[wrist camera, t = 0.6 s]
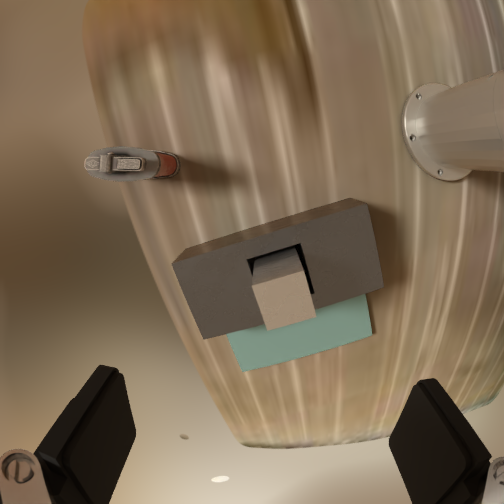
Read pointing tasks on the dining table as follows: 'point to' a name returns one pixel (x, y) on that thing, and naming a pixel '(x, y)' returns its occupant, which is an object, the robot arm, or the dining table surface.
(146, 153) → the lighter
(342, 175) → the dining table surface
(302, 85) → the dining table surface
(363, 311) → the mat
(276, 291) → the peg
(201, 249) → the rail
